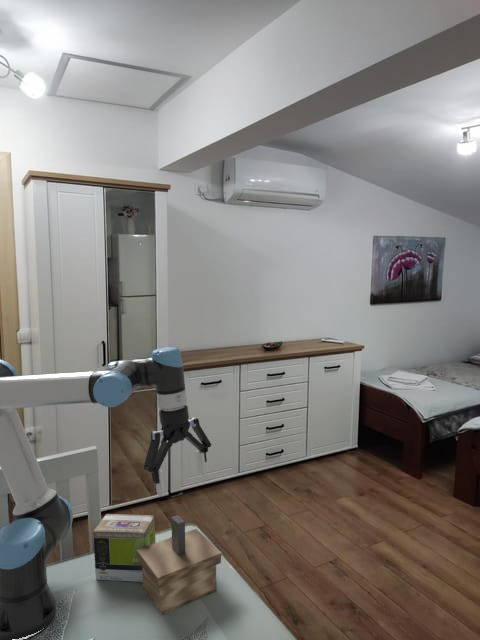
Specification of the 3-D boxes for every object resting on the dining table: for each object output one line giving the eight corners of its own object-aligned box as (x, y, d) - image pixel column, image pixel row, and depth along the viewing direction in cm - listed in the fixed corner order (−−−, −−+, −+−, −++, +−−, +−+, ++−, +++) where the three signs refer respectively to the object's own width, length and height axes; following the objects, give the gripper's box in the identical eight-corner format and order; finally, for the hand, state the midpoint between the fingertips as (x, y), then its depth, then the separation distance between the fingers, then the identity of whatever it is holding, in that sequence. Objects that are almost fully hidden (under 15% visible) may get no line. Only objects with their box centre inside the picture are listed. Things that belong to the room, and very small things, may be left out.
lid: (158, 588, 116) (156, 543, 114) (136, 559, 127) (135, 517, 126) (221, 562, 126) (221, 520, 124) (196, 537, 137) (195, 499, 136)
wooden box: (161, 615, 118) (160, 578, 117) (143, 588, 128) (142, 554, 127) (216, 590, 127) (215, 556, 126) (195, 567, 137) (194, 535, 136)
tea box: (157, 561, 140) (155, 514, 138) (147, 583, 130) (145, 533, 129) (108, 558, 142) (106, 512, 140) (94, 580, 132) (92, 530, 130)
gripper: (138, 423, 112) (149, 507, 115) (218, 396, 129) (226, 470, 131) (123, 418, 118) (134, 498, 120) (201, 393, 135) (209, 464, 137)
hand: (182, 484), depth 126 cm, fingers open, 13 cm apart
